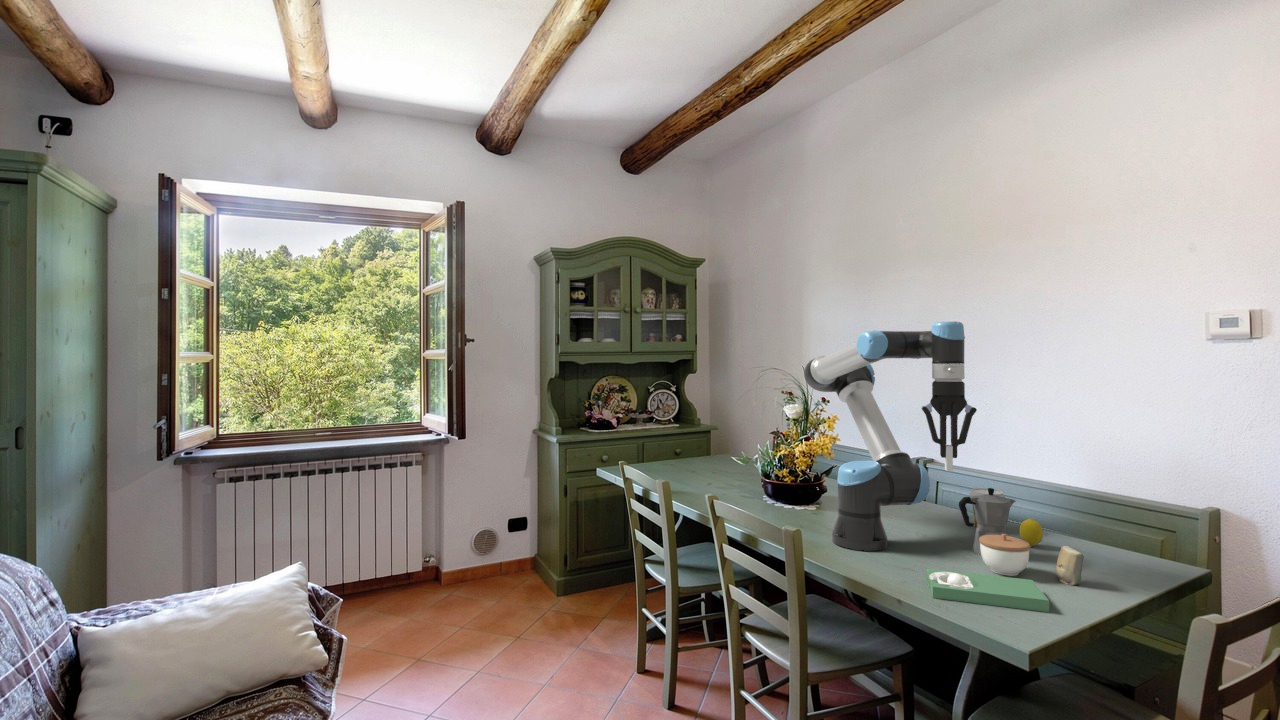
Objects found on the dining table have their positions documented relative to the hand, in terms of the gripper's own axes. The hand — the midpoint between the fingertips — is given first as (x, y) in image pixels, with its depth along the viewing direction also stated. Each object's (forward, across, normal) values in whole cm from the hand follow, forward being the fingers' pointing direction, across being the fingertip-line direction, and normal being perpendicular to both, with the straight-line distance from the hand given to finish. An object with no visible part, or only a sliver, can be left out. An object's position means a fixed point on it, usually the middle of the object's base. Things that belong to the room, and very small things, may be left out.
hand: (948, 470), depth 151 cm
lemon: (+25, +24, +23) cm, 41 cm away
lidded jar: (+25, +12, -2) cm, 28 cm away
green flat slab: (+24, +4, -20) cm, 32 cm away
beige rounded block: (+25, +25, -5) cm, 35 cm away
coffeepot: (+25, +11, +12) cm, 30 cm away
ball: (+22, -1, -20) cm, 30 cm away
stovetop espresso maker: (+25, +16, +38) cm, 48 cm away
